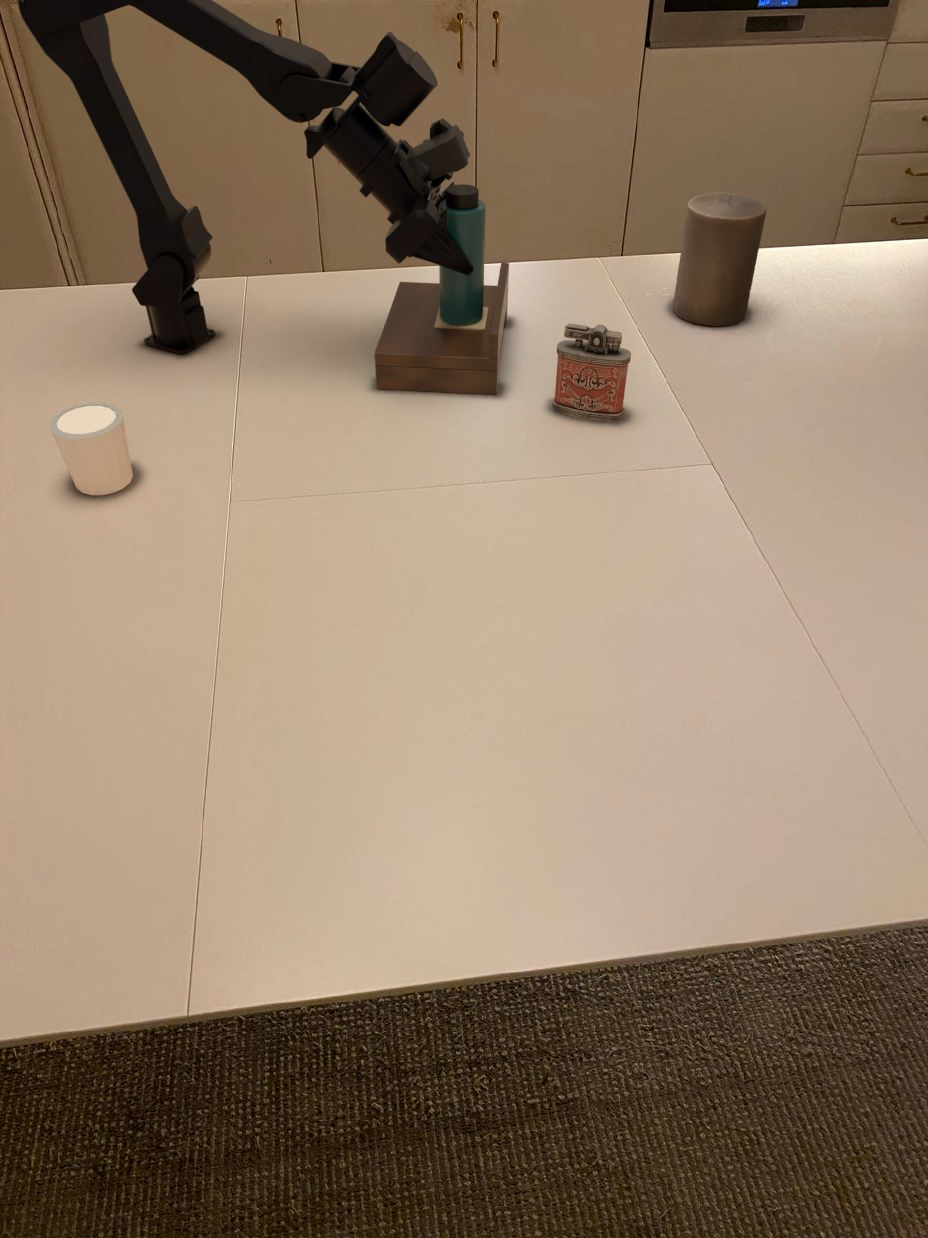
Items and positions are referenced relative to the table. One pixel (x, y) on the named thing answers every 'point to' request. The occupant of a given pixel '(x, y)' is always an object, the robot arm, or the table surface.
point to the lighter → (591, 373)
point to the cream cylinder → (94, 447)
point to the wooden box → (441, 342)
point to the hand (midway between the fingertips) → (473, 262)
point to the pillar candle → (718, 258)
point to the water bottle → (468, 230)
